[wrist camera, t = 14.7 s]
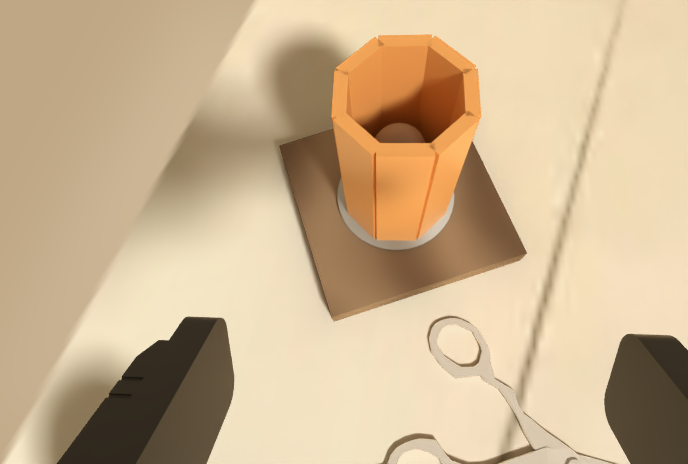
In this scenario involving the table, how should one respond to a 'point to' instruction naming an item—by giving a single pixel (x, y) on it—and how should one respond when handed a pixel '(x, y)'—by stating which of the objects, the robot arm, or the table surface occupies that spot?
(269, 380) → the table surface
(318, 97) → the table surface
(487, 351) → the scissors
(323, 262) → the spindle
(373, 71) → the collar
